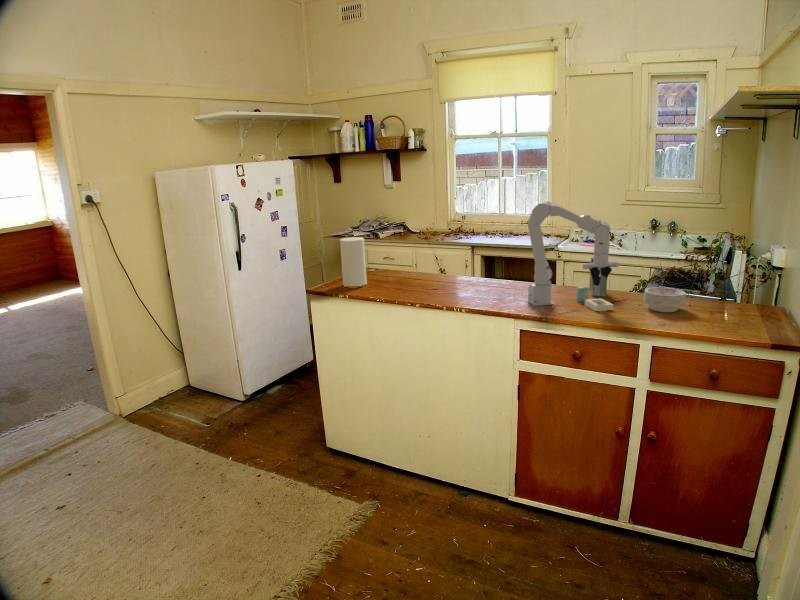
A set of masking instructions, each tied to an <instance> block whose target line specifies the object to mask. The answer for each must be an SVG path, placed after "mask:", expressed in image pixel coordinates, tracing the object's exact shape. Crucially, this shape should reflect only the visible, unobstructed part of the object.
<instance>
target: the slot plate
mask: <svg viewBox="0 0 800 600" xmlns="http://www.w3.org/2000/svg"><path fill="white" fill-rule="evenodd" d="M584 306H585V307H587V308H588V307H589V310H592V311H594V312H595V311H599V312H608V311H607V310H611V311H614V303H611V302H610V301H608V300H605V299H603V298H602V297H601V298H590V299H589V298H587V300H585V302H584Z"/></svg>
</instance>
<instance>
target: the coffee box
mask: <svg viewBox="0 0 800 600" xmlns="http://www.w3.org/2000/svg"><path fill="white" fill-rule="evenodd" d="M593 260H594V257H593V258H592V257H591V258H590V263H593ZM598 270H600V274H601V269H600V268H598ZM607 283H608V279H607V280H606V289H605V296H604V297H606V296H607V285H608V284H607ZM588 293H590V295H591V296H592V297H599V296H598V295H597V294H595V293H594V281H593V277H592V275H591V272H590V271H589V287H588Z"/></svg>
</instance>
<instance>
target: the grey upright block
mask: <svg viewBox="0 0 800 600" xmlns="http://www.w3.org/2000/svg"><path fill="white" fill-rule="evenodd" d="M588 293H589V287H587V286H582V285H580V286H577V288H576V302H580V303H585V300H587V299H588V295H589V294H588Z"/></svg>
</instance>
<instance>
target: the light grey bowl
mask: <svg viewBox="0 0 800 600" xmlns="http://www.w3.org/2000/svg"><path fill="white" fill-rule="evenodd" d="M686 293H687V292H685V291H683V290H681V289H679V288H678V289H677V288H672V287H671V288H670V287H663V286H662V287H660V286H659V287H658V286H657V287H655V286H654V287H648V288H645V289H644V293H643V302H644V304H645V303H646V304H647V305H648V307H649V308H650V310H652V311H655V312H659V313H674V312H676V311H678V310H679V308H681V307H683V306H685V304H686V296H687V294H686Z"/></svg>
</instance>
